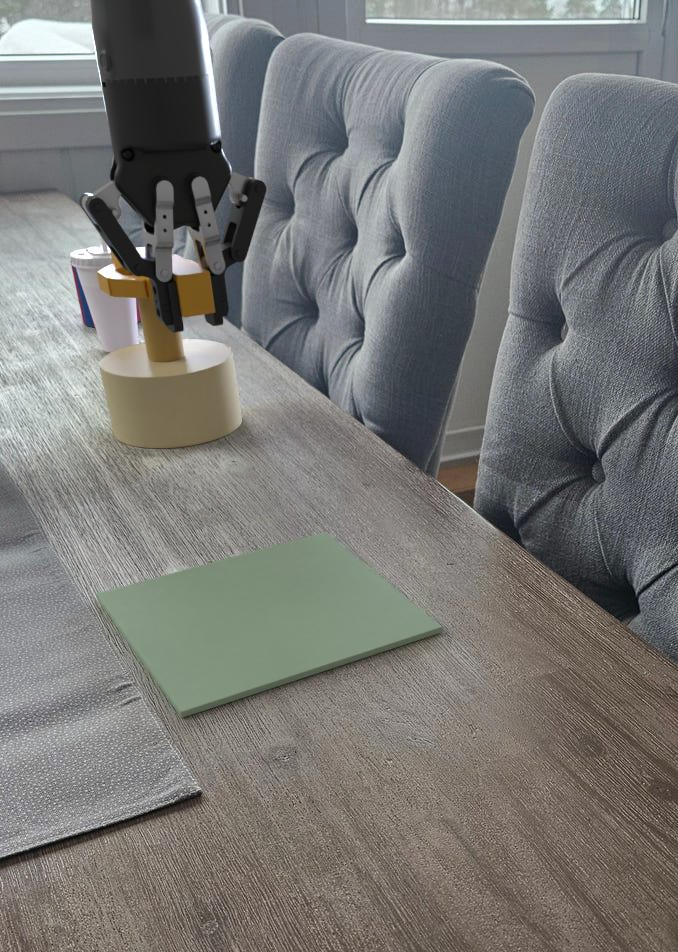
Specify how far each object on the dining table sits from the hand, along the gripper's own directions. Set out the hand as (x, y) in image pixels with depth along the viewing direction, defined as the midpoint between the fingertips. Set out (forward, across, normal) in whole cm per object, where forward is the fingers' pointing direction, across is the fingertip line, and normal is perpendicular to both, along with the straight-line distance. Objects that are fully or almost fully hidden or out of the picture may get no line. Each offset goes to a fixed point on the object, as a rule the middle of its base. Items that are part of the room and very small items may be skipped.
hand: (194, 325), depth 85 cm
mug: (+11, -6, -49) cm, 51 cm away
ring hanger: (-1, 0, -7) cm, 7 cm away
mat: (+11, +7, +27) cm, 29 cm away
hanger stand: (+11, 0, -9) cm, 14 cm away
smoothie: (+11, -3, -36) cm, 38 cm away
